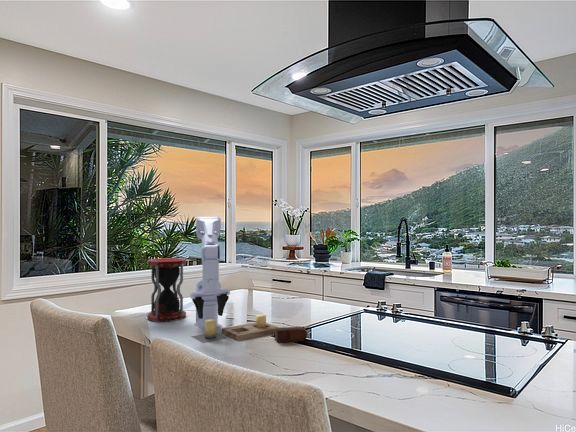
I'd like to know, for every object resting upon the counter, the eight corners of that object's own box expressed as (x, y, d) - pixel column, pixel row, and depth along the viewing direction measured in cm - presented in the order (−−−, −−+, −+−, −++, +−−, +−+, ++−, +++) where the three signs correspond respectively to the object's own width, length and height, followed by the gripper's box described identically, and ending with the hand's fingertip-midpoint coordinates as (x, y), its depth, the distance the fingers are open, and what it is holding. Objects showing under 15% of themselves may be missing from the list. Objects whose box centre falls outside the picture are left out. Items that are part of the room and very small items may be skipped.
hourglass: (139, 320, 174) (139, 260, 174) (161, 312, 189) (161, 257, 189) (172, 323, 169) (172, 261, 169) (193, 314, 184) (193, 258, 184)
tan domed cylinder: (253, 331, 157) (253, 315, 157) (262, 329, 159) (262, 314, 160) (259, 333, 154) (259, 317, 154) (268, 331, 156) (268, 315, 156)
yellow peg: (202, 337, 148) (202, 320, 148) (212, 335, 150) (213, 318, 150) (207, 339, 145) (207, 322, 145) (218, 337, 147) (218, 320, 147)
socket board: (221, 333, 153) (221, 328, 153) (262, 326, 164) (262, 321, 164) (237, 341, 144) (237, 335, 144) (279, 333, 155) (279, 327, 155)
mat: (190, 337, 149) (190, 336, 149) (216, 332, 155) (216, 331, 155) (202, 343, 141) (202, 343, 141) (228, 338, 147) (228, 338, 147)
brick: (277, 344, 141) (277, 330, 141) (274, 341, 145) (274, 327, 145) (307, 341, 144) (307, 328, 144) (303, 338, 148) (303, 325, 148)
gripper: (196, 281, 140) (196, 321, 140) (234, 278, 149) (233, 316, 149) (187, 279, 146) (187, 318, 146) (224, 276, 154) (224, 312, 154)
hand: (210, 316), depth 147 cm, fingers open, 7 cm apart
